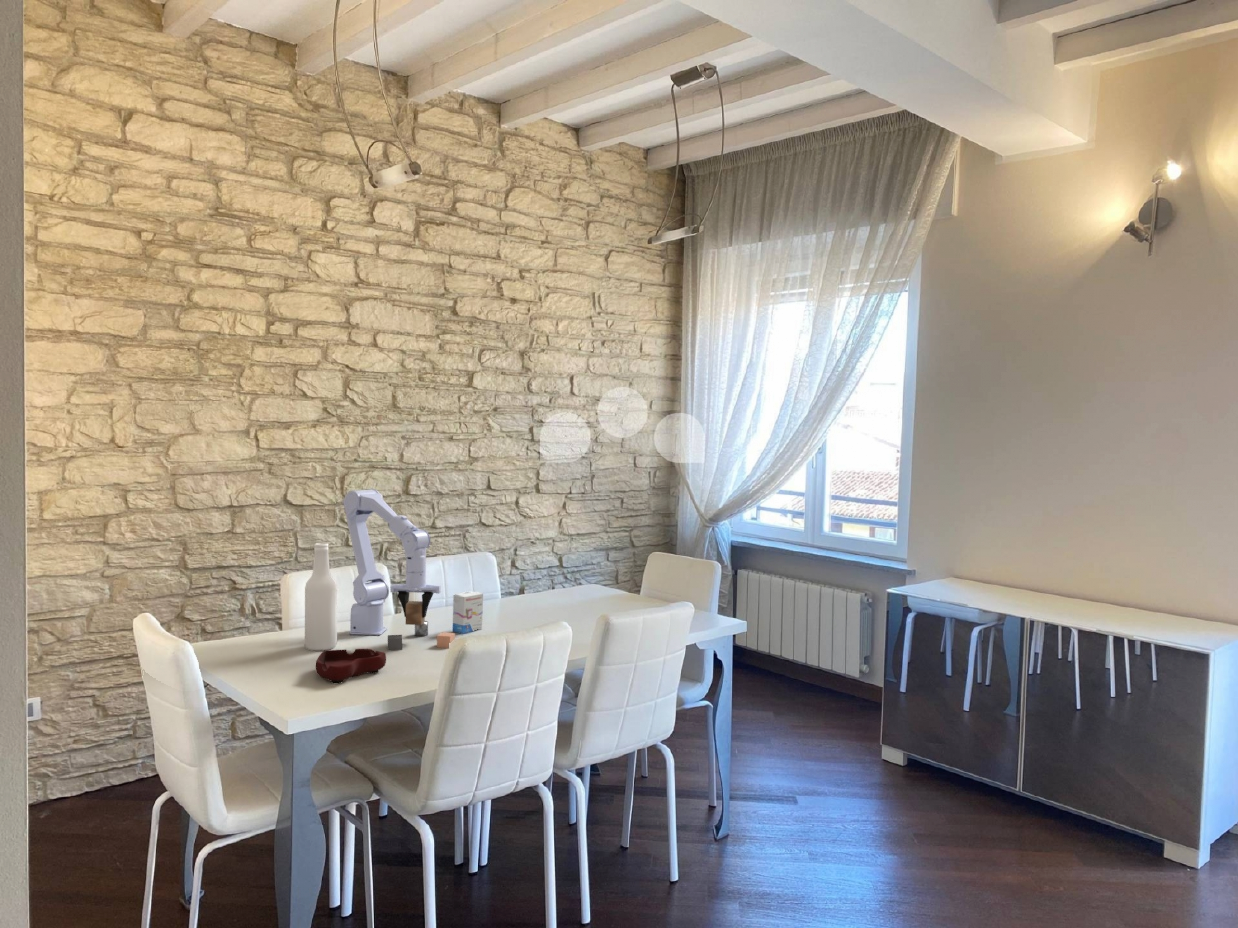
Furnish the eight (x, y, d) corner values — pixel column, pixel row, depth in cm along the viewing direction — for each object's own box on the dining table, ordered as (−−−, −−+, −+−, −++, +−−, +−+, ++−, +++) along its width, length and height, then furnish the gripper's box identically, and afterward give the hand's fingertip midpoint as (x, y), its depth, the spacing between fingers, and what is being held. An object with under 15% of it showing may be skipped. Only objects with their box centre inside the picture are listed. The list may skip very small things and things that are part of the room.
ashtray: (350, 661, 242) (350, 643, 242) (392, 671, 233) (392, 653, 233) (294, 676, 227) (294, 657, 227) (336, 688, 218) (336, 668, 218)
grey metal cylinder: (413, 636, 270) (413, 623, 270) (416, 633, 274) (416, 620, 274) (426, 636, 270) (426, 623, 270) (429, 633, 274) (429, 620, 274)
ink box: (463, 634, 274) (463, 596, 273) (451, 631, 277) (452, 594, 276) (483, 629, 281) (483, 592, 280) (472, 626, 284) (472, 590, 283)
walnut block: (405, 624, 261) (405, 604, 261) (409, 620, 266) (409, 601, 265) (421, 624, 261) (421, 604, 261) (424, 621, 266) (424, 601, 265)
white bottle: (299, 650, 251) (300, 545, 249) (311, 643, 259) (311, 541, 258) (330, 651, 250) (331, 546, 249) (341, 643, 259) (341, 541, 258)
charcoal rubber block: (387, 650, 253) (387, 638, 253) (387, 647, 257) (387, 635, 257) (402, 650, 254) (402, 638, 254) (401, 646, 258) (401, 634, 258)
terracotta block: (436, 647, 258) (437, 635, 258) (442, 643, 262) (442, 632, 262) (449, 648, 257) (450, 636, 257) (454, 644, 261) (455, 633, 261)
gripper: (387, 572, 259) (387, 618, 259) (437, 574, 259) (436, 620, 259) (394, 568, 266) (393, 613, 267) (442, 569, 266) (441, 614, 266)
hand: (415, 616), depth 263 cm, fingers closed on walnut block, 5 cm apart
